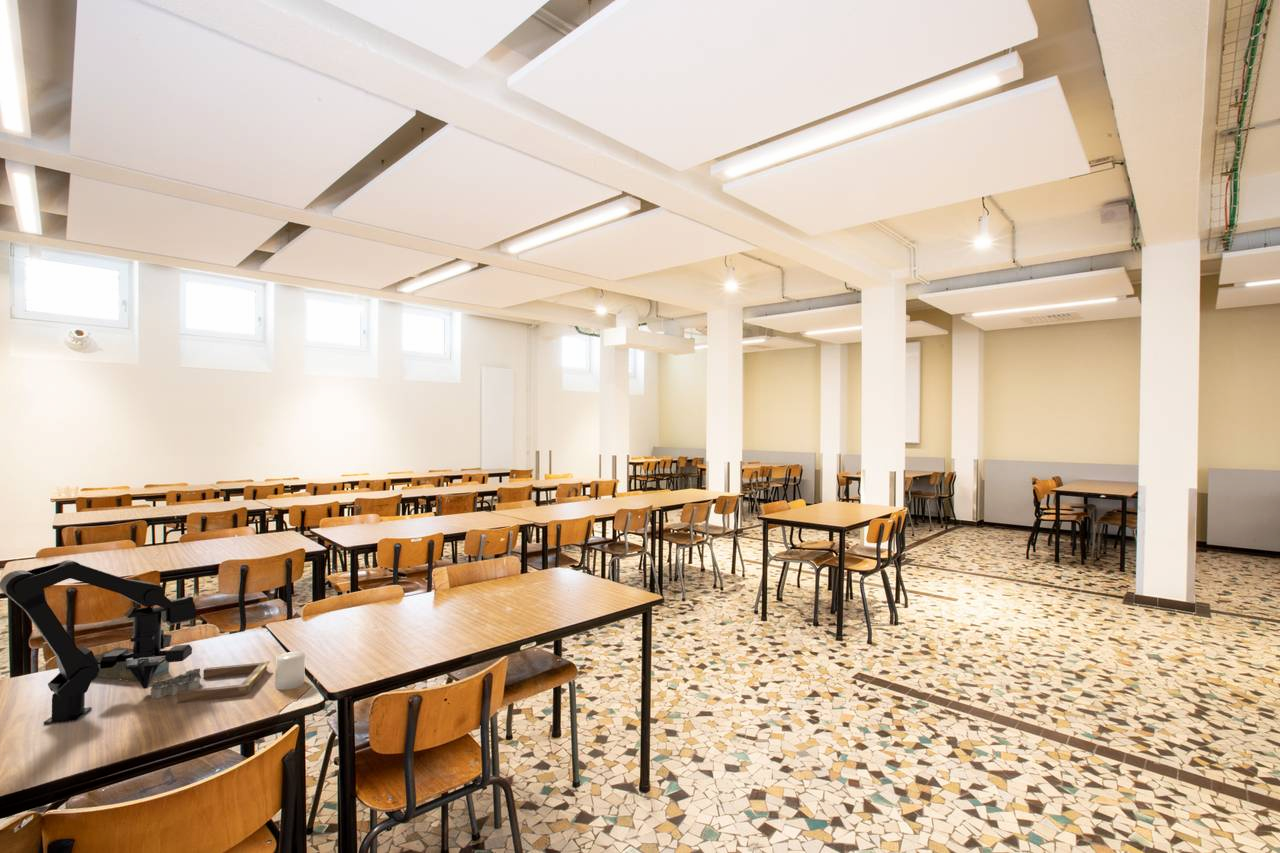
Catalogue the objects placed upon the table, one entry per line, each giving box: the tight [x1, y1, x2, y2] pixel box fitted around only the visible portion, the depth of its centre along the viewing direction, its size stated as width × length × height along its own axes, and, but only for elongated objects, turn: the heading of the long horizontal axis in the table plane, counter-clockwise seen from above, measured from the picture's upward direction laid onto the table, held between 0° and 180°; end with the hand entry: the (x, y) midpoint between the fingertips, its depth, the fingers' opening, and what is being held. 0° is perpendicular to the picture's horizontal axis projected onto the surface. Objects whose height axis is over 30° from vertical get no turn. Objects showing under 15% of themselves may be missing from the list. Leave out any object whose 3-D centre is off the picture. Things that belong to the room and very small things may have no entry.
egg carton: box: [149, 667, 202, 699], centre depth 157 cm, size 11×8×4 cm
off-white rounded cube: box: [274, 650, 306, 691], centre depth 161 cm, size 7×7×8 cm
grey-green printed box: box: [94, 646, 170, 683], centre depth 167 cm, size 8×19×7 cm, turn 78°
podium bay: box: [176, 660, 271, 704], centre depth 160 cm, size 17×16×3 cm
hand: (146, 687), depth 155 cm, fingers closed
